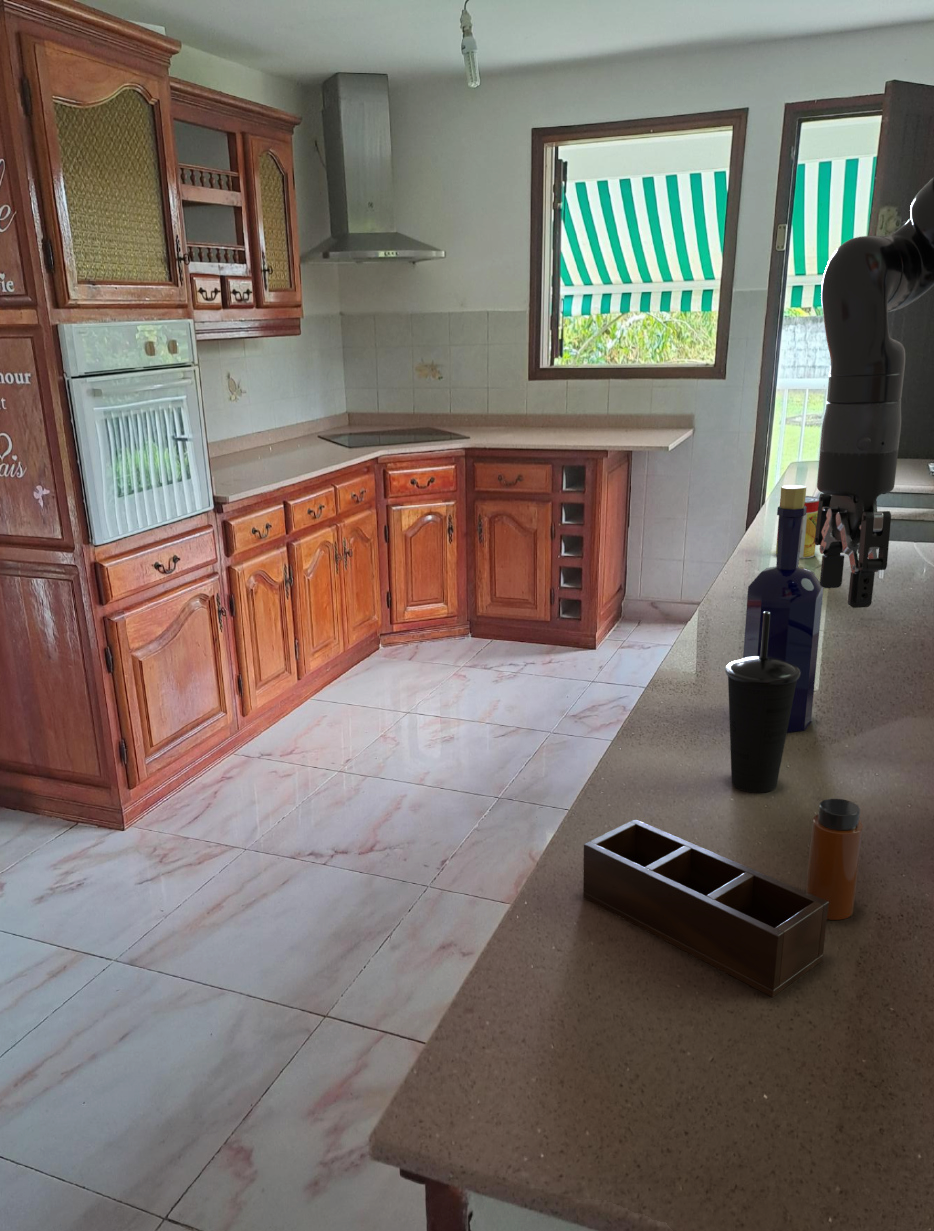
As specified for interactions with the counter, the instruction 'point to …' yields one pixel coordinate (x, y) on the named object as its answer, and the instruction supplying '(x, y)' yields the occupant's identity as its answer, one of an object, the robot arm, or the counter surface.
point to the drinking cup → (759, 716)
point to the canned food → (808, 528)
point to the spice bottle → (835, 856)
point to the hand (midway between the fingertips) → (844, 596)
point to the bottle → (788, 607)
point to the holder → (707, 905)
